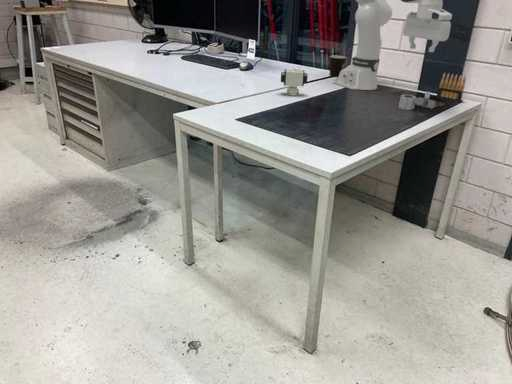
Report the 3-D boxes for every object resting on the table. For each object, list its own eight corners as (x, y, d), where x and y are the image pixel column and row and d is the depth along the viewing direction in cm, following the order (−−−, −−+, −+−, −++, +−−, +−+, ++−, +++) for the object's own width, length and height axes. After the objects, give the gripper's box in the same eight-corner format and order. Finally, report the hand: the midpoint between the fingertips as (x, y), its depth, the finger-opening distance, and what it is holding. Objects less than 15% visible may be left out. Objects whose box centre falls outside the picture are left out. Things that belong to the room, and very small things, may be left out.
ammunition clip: (435, 98, 194) (442, 72, 189) (436, 97, 196) (443, 71, 190) (459, 102, 189) (467, 76, 184) (460, 101, 191) (468, 75, 185)
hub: (396, 107, 178) (398, 96, 176) (403, 105, 182) (405, 93, 180) (408, 110, 175) (411, 99, 172) (416, 108, 178) (418, 97, 176)
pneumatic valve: (305, 96, 188) (308, 70, 182) (280, 95, 188) (281, 68, 182) (304, 93, 192) (307, 67, 187) (279, 92, 192) (281, 66, 187)
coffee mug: (334, 73, 234) (336, 54, 229) (346, 76, 228) (349, 57, 224) (320, 75, 227) (322, 56, 223) (332, 78, 222) (335, 59, 217)
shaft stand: (406, 103, 185) (408, 91, 182) (419, 98, 192) (422, 87, 190) (431, 109, 177) (434, 97, 175) (444, 105, 185) (447, 93, 182)
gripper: (402, 11, 169) (396, 47, 175) (445, 15, 153) (436, 54, 160) (413, 11, 172) (407, 46, 178) (456, 15, 156) (447, 53, 162)
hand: (421, 50), depth 169 cm, fingers open, 8 cm apart
